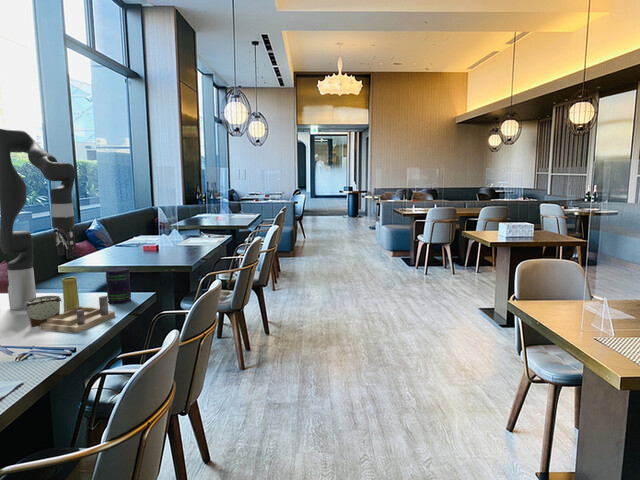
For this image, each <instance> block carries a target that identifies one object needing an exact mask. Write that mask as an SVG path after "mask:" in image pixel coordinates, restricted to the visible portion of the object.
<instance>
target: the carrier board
mask: <svg viewBox="0 0 640 480" xmlns="http://www.w3.org/2000/svg"><path fill="white" fill-rule="evenodd" d="M98 302H99V307H92V306H91V307H89V306H79V307H78V308H75V309H73V310H70V311H67V312H64V311H63V312H62V313H60V314H59V315H56V316H53V317H51V318H48V319H47V322H45V323H42V324H40V325H41V326H40V329H41V330H46V331H55V332H56V331H57V332H65V333H75V334H77V333H79V332H82V331H84V330H87V329H89V328H92V327H93V326H96V325H98V324H100V323H103V322H105V321H107V320H110V319H112V318H115V317H116V311H114V310H113V311H112V310H109V304H108V298H107V295H101V296H98Z"/></svg>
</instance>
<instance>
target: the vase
mask: <svg viewBox="0 0 640 480" xmlns="http://www.w3.org/2000/svg"><path fill="white" fill-rule="evenodd" d="M77 281H78V280H77V277H76V276H69V277H64V278H62V279H61V283H62V284H61V285H62V294H63V295H62V297H63V313H64V312H67V311H70V310H73V309H75V308H78V307H80V300H79V292H78V283H77Z"/></svg>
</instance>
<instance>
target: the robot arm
mask: <svg viewBox="0 0 640 480" xmlns="http://www.w3.org/2000/svg"><path fill="white" fill-rule="evenodd" d="M11 153H15V154H16V153H19V154H20V153H25V154H27V159H28V161H29V163H31V165H33V166H34V167H35V168H37V169H38V170H39V171H40V172H41V174H42V175H43V177H44V178H45V180H48V181H49V182H61V183H60V185H59V186H57V187H54V188H53V187H52V189H50V193H49V194H50V203H51V204H50V215H51V227H52V229H53V242H54V245H55V246H56V247H57V256H60V257H61V256H66V258H67V259H74V257H75V256H74V248H76V247H77V245H76V244H77V243H76V234H75V231H71V229H73V228H74V227H75V226H76V225H75V211H74V206H73V195H72V193H73V187H74V184H75V183H74V182H75V179H76V170H75V169H76V168H75V167H74V165H73V164H72V163H70V162H60V161H59V162H58V160H57V158H56V157H54V156H53V155H52V154H50V153H49V152H48V151H46V150H45V149H43V148H42V147H41V146H40V145H39V144H38V143H37V141H35V139H33V138H32V136H31V135H30V134H29V133H28V132H27V131H25V130H22V129H15V128H14V129H13V128H0V250H1V252H2V253H3V254H6V255H11V254H18V253H19V254H18V255H17V257H16V258H14V259H13V260H10V261H9V262H7V264H6V268H7V275H8V276H7V277H8V286H7V294H8V302H9V305H8V306H9V309H11V310H13V311H23V310H24V311H25V310H27V307H25V303H26V301H27V300H29V299H32V298H36V297H37V293H36V292H37V291H36V283H35V273H34V242H33V241H34V240H33V237H32V234H31V232H30V231H28V230H14V223H15V221H16V219H17V218H18V216H19V214H20V213H21V211H22V210H23V208H24V207H25V205H26V203H27V185H26V183H25V181H24V179H23V177H21V175H20V174H19V173H18V171H17V170H16V168H15V166H14V164H13V161H12V157H11ZM13 230H14V231H13ZM65 251H66V255H65Z"/></svg>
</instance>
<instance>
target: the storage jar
mask: <svg viewBox="0 0 640 480" xmlns="http://www.w3.org/2000/svg"><path fill="white" fill-rule="evenodd" d="M130 274H131V273H130V267H127V266H115V267H109V268H106V269H105V282H106V284H107V291H106V293H107V295H106V296H107V299H108V303H109V304H108V305H125V304H128V303H130V302H132V298H131V297H132V291H131V286H130V280H131V278H130V277H131V275H130Z"/></svg>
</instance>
